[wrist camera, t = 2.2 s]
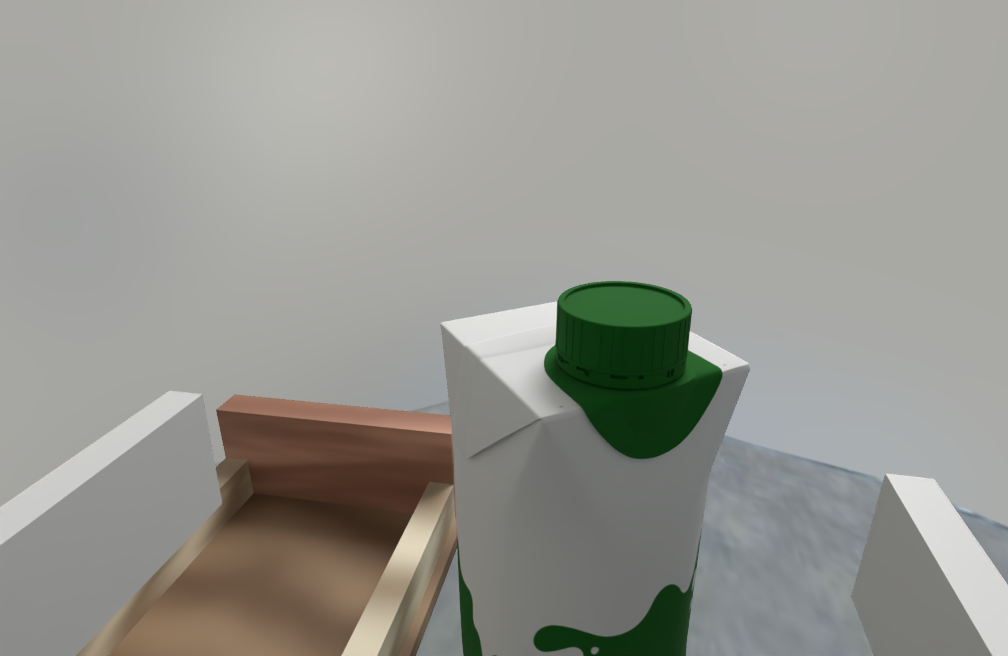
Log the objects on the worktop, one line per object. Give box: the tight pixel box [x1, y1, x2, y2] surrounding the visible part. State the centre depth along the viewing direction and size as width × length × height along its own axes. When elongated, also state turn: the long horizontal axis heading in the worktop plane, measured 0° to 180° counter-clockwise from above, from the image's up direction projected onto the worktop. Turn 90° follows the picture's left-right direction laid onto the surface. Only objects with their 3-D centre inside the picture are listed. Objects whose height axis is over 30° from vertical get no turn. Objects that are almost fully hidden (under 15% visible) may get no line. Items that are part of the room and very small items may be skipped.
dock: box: [76, 395, 457, 656], centre depth 32 cm, size 21×16×7 cm
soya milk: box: [441, 281, 750, 656], centre depth 25 cm, size 9×9×20 cm
